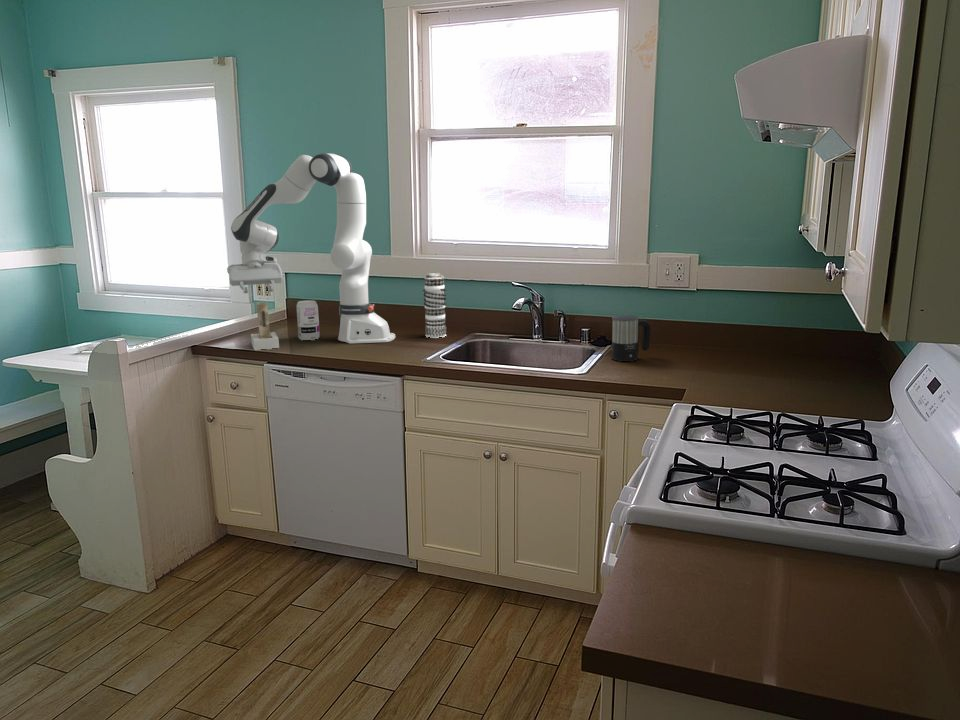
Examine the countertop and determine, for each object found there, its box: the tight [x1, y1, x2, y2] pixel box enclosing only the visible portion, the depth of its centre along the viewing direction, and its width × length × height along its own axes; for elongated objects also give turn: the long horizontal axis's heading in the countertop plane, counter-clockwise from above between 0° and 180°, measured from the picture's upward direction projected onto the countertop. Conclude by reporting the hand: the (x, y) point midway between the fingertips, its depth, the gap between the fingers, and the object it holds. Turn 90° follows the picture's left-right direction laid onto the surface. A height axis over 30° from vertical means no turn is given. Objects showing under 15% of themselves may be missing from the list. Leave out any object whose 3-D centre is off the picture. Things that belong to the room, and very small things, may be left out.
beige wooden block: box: [256, 301, 271, 339], centre depth 285 cm, size 4×5×15 cm
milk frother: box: [610, 314, 652, 362], centre depth 262 cm, size 14×16×15 cm
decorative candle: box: [422, 272, 447, 339], centre depth 300 cm, size 9×9×25 cm
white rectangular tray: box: [250, 331, 280, 351], centre depth 287 cm, size 12×9×4 cm
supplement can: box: [295, 299, 321, 341], centre depth 298 cm, size 8×8×15 cm
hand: (258, 291), depth 292 cm, fingers open, 8 cm apart
